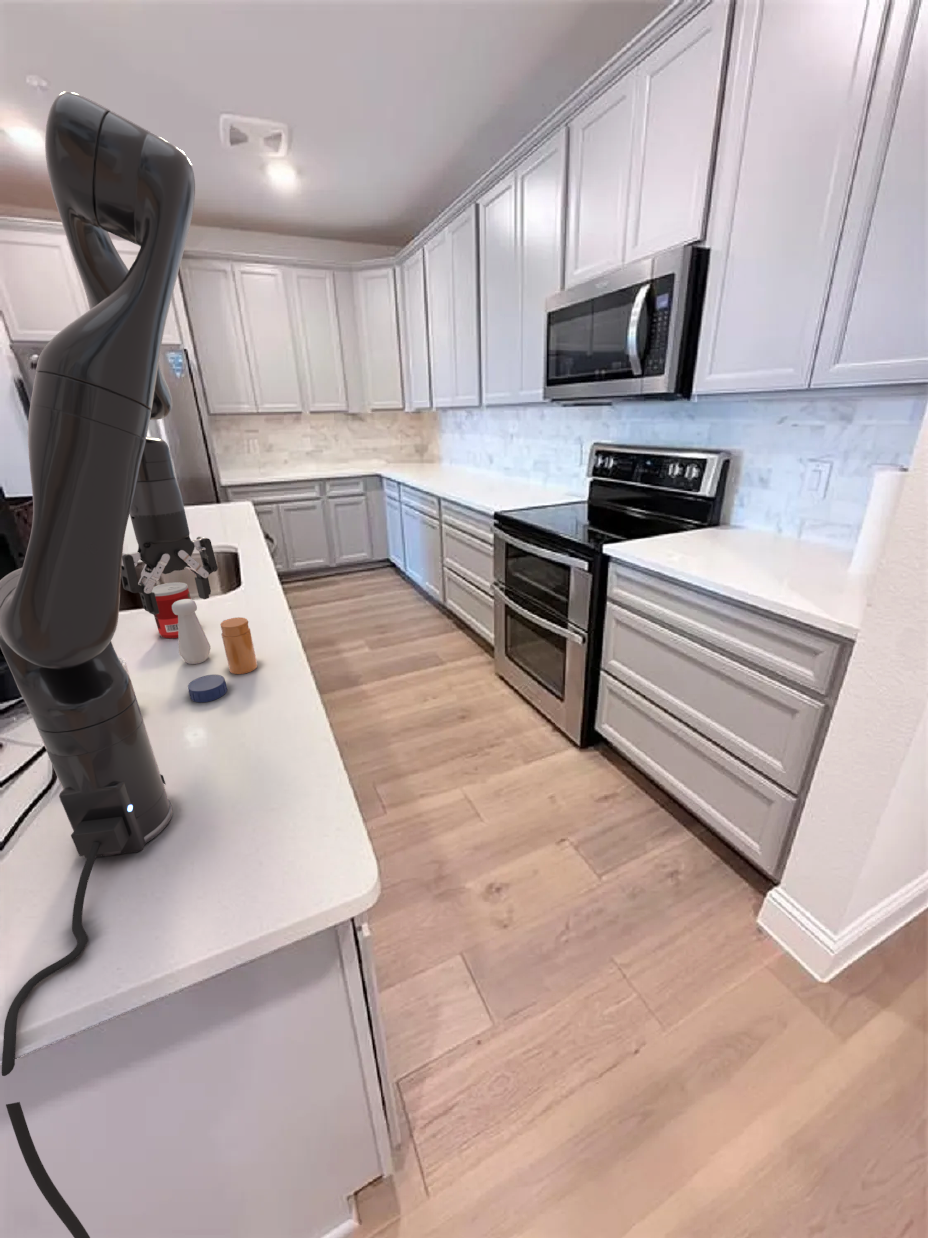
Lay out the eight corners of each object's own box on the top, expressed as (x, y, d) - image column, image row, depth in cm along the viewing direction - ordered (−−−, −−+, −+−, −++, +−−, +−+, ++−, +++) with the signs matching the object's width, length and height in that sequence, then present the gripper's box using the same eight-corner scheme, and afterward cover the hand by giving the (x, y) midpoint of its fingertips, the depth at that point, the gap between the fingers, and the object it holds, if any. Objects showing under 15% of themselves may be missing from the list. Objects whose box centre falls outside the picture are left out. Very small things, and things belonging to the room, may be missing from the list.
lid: (216, 681, 96) (213, 671, 95) (233, 691, 93) (231, 680, 92) (184, 695, 92) (181, 684, 91) (201, 706, 88) (198, 695, 88)
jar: (256, 671, 100) (247, 625, 96) (228, 676, 98) (217, 629, 94) (258, 660, 104) (249, 615, 100) (230, 664, 103) (220, 619, 99)
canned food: (204, 629, 120) (194, 585, 115) (171, 641, 113) (159, 595, 109) (186, 622, 123) (175, 579, 119) (153, 634, 117) (140, 589, 113)
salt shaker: (200, 667, 102) (185, 607, 97) (175, 665, 103) (159, 605, 98) (218, 654, 107) (205, 596, 102) (194, 652, 108) (180, 595, 103)
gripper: (188, 500, 87) (207, 590, 93) (95, 513, 76) (124, 614, 82) (213, 504, 83) (231, 597, 89) (119, 519, 72) (147, 624, 78)
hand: (180, 605), depth 85 cm, fingers open, 8 cm apart
